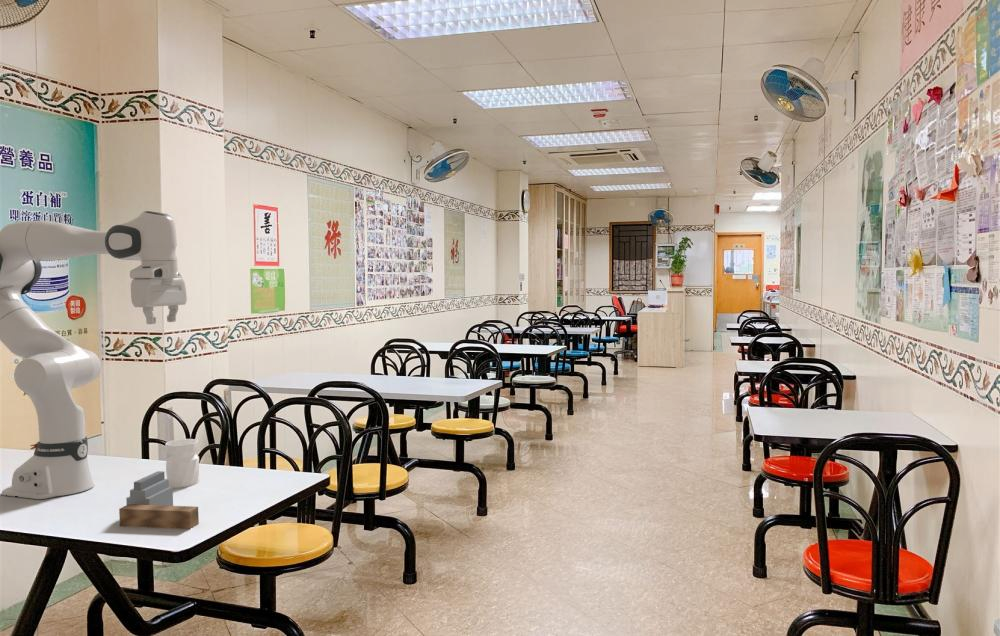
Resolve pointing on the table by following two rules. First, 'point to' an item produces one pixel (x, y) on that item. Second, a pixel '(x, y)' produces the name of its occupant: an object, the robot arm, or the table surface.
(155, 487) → the ridge block
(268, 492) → the table surface
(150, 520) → the walnut bar
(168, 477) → the vase
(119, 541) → the table surface
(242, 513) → the table surface
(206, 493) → the table surface
